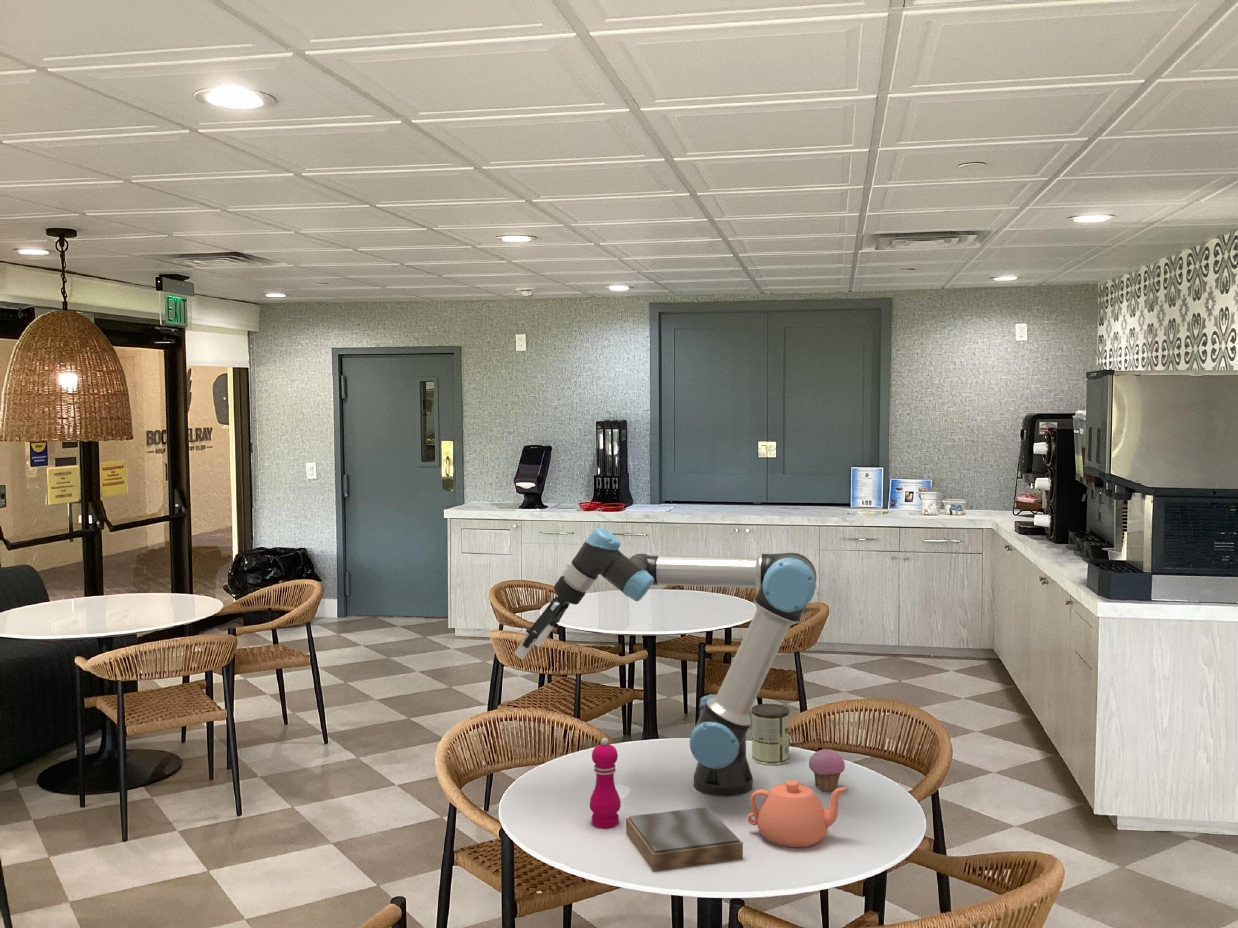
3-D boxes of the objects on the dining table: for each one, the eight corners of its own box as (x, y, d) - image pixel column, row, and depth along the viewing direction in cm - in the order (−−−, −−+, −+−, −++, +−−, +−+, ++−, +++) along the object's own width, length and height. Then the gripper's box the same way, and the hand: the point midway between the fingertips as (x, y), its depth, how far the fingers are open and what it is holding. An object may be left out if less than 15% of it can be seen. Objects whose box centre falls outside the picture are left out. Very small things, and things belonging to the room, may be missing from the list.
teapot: (847, 827, 226) (847, 773, 226) (847, 856, 211) (847, 798, 211) (750, 819, 231) (750, 766, 231) (744, 847, 216) (743, 791, 216)
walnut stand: (708, 822, 229) (708, 805, 229) (742, 858, 210) (742, 840, 210) (626, 832, 224) (626, 815, 224) (653, 871, 205) (653, 852, 204)
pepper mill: (625, 818, 232) (624, 734, 231) (614, 830, 225) (614, 744, 224) (596, 814, 234) (595, 731, 234) (585, 826, 228) (584, 741, 227)
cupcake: (839, 782, 254) (839, 744, 254) (848, 795, 246) (848, 755, 245) (805, 783, 254) (805, 745, 254) (812, 796, 245) (812, 756, 245)
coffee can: (750, 752, 278) (750, 702, 278) (787, 753, 277) (787, 703, 277) (752, 764, 268) (752, 713, 268) (790, 765, 267) (790, 714, 266)
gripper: (575, 567, 258) (530, 630, 262) (547, 582, 234) (498, 651, 237) (598, 584, 257) (552, 648, 261) (572, 601, 233) (523, 671, 236)
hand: (526, 650), depth 249 cm, fingers open, 13 cm apart
